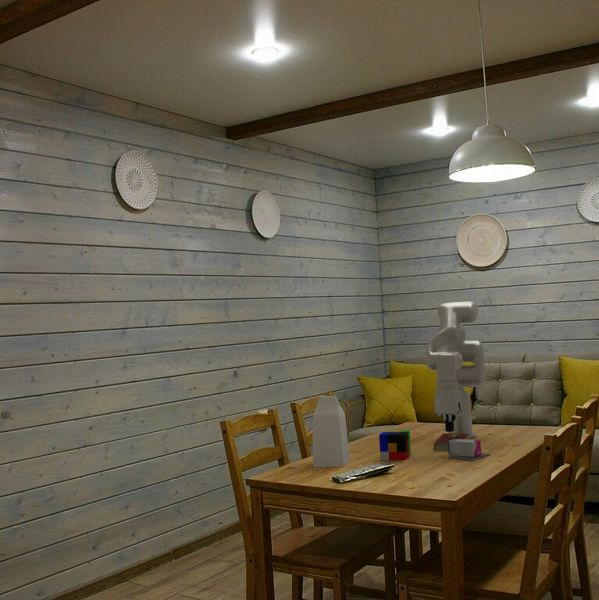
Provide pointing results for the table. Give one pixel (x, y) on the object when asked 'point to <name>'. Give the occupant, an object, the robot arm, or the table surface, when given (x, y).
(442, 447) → the hardcover book
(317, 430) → the milk
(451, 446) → the supplement box
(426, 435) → the table surface
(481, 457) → the mat
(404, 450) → the puzzle toy
